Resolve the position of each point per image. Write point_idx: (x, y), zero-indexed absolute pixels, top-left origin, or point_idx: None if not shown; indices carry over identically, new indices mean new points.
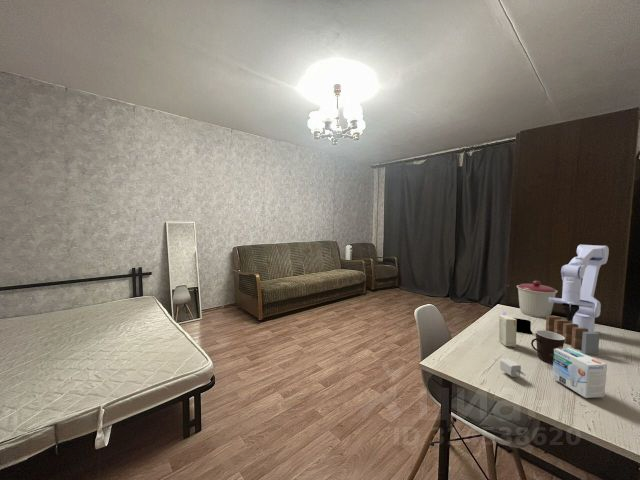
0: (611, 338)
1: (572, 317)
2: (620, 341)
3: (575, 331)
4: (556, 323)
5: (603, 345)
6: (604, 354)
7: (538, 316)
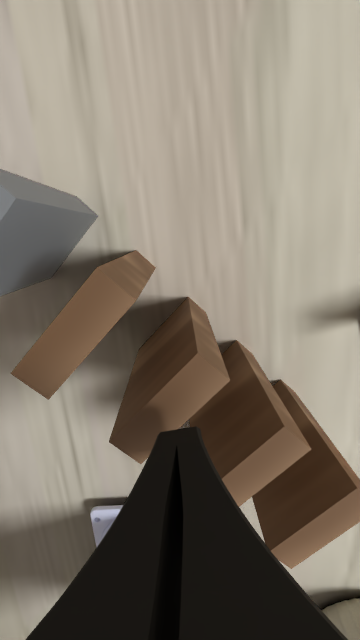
0: (47, 567)
1: (145, 473)
2: (15, 556)
3: (109, 266)
4: (279, 409)
5: (47, 446)
6: (10, 303)
7: (346, 612)
